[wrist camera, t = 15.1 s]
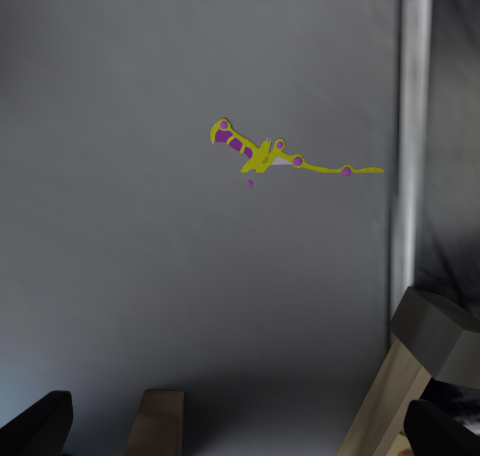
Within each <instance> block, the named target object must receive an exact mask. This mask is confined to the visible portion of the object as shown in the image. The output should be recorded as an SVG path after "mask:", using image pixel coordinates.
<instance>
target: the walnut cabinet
mask: <svg viewBox="0 0 480 456" xmlns="http://www.w3.org/2000/svg"><path fill="white" fill-rule="evenodd" d="M183 411H184V391H156V390H145V391H144V394H143V397H142V400H141V403H140V406H139V409H138V412H137V415H136V418H135V421H134V424H133V427H132V430H131V433H130V436H129V439H128V442H127V445H126V448H125V451H124V454H123V456H182V443H183Z"/></svg>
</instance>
